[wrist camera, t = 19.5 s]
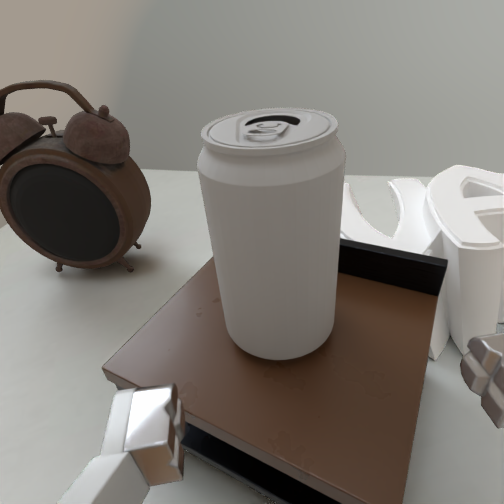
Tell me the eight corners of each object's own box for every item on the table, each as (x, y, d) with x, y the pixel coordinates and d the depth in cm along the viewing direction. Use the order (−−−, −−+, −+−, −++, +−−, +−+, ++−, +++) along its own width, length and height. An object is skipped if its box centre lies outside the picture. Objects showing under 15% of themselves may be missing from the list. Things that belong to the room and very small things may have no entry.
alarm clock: (29, 284, 41) (-80, 97, 29) (62, 247, 46) (-18, 80, 35) (151, 283, 39) (87, 84, 27) (169, 245, 45) (123, 69, 33)
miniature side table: (374, 581, 18) (410, 492, 12) (138, 439, 25) (85, 338, 19) (417, 367, 27) (448, 259, 22) (239, 308, 34) (225, 214, 28)
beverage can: (337, 295, 23) (352, 101, 16) (327, 379, 18) (342, 149, 11) (244, 284, 25) (221, 104, 18) (211, 358, 20) (163, 147, 13)
